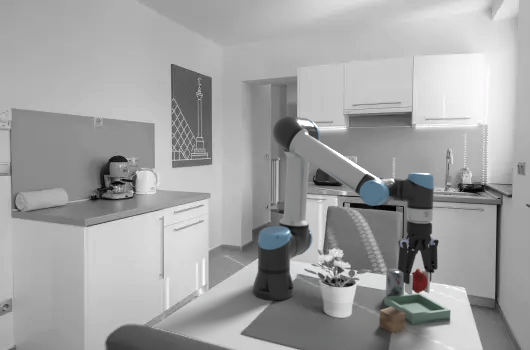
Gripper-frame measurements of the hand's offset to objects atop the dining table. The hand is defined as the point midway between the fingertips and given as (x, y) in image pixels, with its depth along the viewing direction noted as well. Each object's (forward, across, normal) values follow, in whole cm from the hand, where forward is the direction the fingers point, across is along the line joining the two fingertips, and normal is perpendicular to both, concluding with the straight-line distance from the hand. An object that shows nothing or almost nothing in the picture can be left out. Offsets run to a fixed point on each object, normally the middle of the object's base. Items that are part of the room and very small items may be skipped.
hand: (416, 292), depth 114 cm
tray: (+7, 0, 0) cm, 7 cm away
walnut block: (+7, -14, -7) cm, 17 cm away
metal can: (+7, 0, +11) cm, 13 cm away
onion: (0, 0, 0) cm, 1 cm away
